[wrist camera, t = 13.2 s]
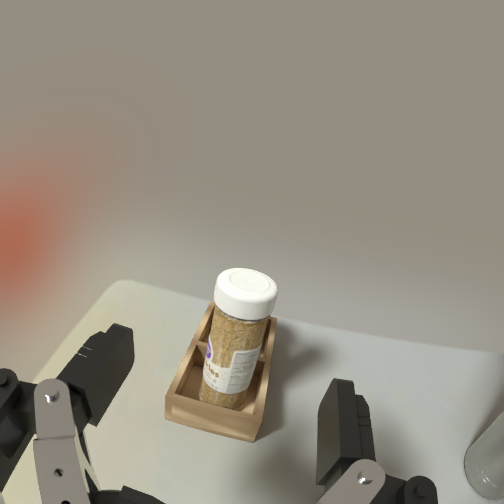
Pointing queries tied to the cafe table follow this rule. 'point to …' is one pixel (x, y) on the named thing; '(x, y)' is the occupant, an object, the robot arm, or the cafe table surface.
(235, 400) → the sprinkles bottle
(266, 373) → the caddy
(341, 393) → the robot arm
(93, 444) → the cafe table surface
